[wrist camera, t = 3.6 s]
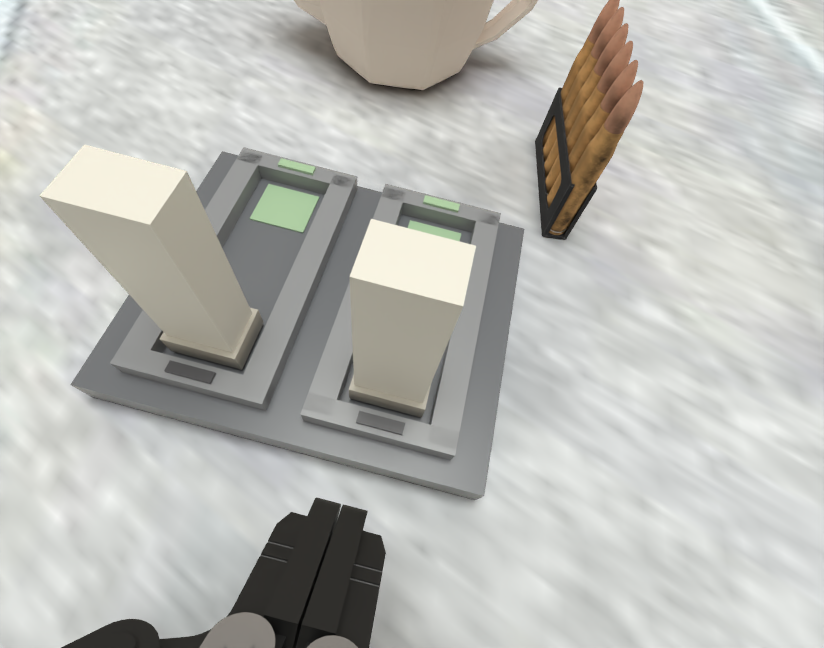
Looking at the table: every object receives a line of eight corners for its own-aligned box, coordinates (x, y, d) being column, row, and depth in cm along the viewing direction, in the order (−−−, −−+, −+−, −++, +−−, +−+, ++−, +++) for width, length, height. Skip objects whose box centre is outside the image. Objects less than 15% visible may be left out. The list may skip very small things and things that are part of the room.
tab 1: (263, 322, 25) (196, 166, 15) (241, 370, 24) (151, 233, 13) (196, 304, 25) (83, 137, 15) (170, 351, 24) (27, 201, 13)
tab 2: (433, 367, 25) (483, 240, 15) (421, 417, 23) (468, 316, 13) (365, 349, 25) (367, 210, 15) (349, 398, 23) (340, 282, 13)
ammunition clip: (535, 140, 38) (602, -19, 27) (555, 143, 38) (630, -14, 28) (542, 237, 33) (627, 89, 22) (565, 240, 33) (662, 95, 23)
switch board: (515, 246, 32) (531, 215, 29) (475, 500, 24) (491, 492, 21) (229, 172, 33) (216, 134, 30) (91, 396, 24) (53, 375, 21)
